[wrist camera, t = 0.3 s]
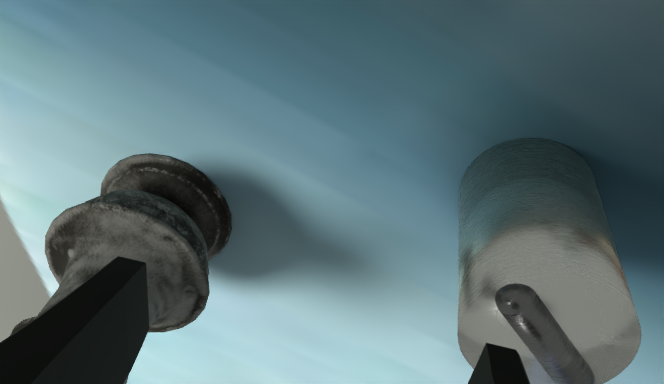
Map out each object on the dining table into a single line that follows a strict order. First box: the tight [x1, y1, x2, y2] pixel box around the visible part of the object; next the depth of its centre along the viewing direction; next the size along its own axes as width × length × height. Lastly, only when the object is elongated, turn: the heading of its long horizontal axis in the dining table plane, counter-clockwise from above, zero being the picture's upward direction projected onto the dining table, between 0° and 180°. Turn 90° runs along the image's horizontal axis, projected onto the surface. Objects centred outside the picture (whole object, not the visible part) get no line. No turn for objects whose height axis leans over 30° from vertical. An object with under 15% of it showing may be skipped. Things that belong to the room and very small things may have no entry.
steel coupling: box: [458, 138, 641, 384], centre depth 18 cm, size 4×4×7 cm
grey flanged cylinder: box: [10, 154, 232, 384], centre depth 19 cm, size 6×6×12 cm
